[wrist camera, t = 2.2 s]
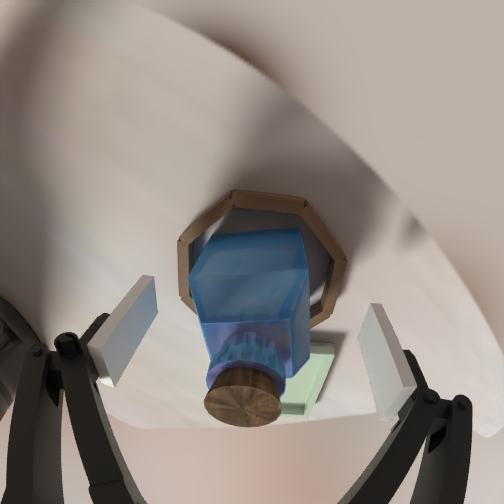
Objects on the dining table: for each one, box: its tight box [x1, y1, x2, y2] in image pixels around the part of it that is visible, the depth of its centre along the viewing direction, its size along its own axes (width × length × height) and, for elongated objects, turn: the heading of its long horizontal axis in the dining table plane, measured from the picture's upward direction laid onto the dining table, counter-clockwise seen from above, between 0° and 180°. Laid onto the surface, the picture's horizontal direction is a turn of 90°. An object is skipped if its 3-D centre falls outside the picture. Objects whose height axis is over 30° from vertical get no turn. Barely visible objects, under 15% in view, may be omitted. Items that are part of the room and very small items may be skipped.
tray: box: [279, 342, 335, 418], centre depth 25 cm, size 10×10×2 cm
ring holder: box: [177, 190, 347, 329], centre depth 20 cm, size 12×12×1 cm
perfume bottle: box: [187, 227, 310, 427], centre depth 16 cm, size 6×6×12 cm
